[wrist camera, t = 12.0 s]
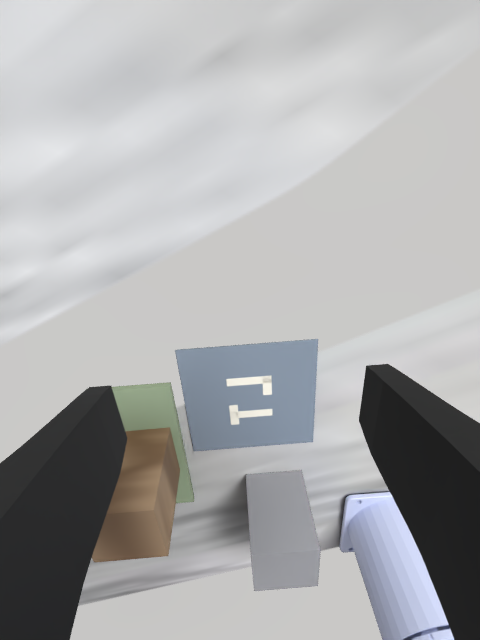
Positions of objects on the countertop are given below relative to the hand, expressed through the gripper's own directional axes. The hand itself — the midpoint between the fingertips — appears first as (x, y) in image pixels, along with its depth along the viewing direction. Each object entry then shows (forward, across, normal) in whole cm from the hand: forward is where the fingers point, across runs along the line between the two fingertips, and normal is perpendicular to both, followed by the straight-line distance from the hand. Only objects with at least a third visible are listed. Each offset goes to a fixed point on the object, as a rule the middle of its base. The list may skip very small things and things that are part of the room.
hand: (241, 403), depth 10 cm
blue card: (+10, 0, +9) cm, 14 cm away
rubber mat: (+10, +8, +13) cm, 18 cm away
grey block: (+10, -2, +19) cm, 22 cm away
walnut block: (+10, +8, +13) cm, 18 cm away
